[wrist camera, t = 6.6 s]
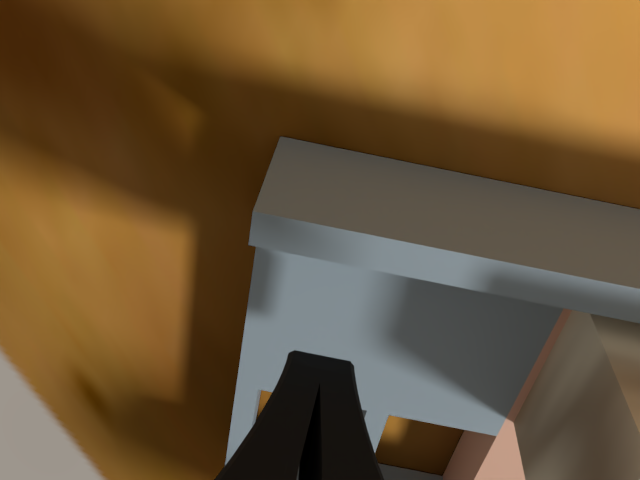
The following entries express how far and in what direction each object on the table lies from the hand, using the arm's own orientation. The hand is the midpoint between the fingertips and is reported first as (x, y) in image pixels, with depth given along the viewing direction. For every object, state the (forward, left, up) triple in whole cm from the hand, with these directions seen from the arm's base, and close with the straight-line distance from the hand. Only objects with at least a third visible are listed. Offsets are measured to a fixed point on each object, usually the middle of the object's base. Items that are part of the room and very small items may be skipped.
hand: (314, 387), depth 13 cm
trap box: (-2, -5, -4) cm, 7 cm away
